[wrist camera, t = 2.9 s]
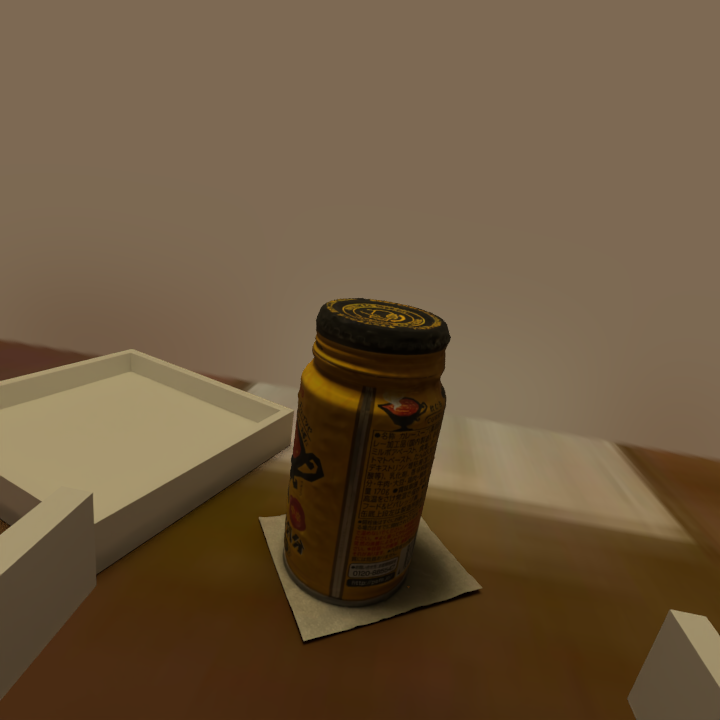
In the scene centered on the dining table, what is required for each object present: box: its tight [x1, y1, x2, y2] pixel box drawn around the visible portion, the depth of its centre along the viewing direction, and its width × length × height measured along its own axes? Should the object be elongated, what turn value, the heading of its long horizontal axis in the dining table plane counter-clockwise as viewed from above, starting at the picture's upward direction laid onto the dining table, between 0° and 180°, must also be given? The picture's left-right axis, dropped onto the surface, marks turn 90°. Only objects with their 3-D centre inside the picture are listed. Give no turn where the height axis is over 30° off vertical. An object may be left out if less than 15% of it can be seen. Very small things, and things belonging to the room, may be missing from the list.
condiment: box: [259, 298, 482, 641], centre depth 21 cm, size 7×8×12 cm
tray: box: [0, 349, 294, 574], centre depth 27 cm, size 15×14×2 cm
